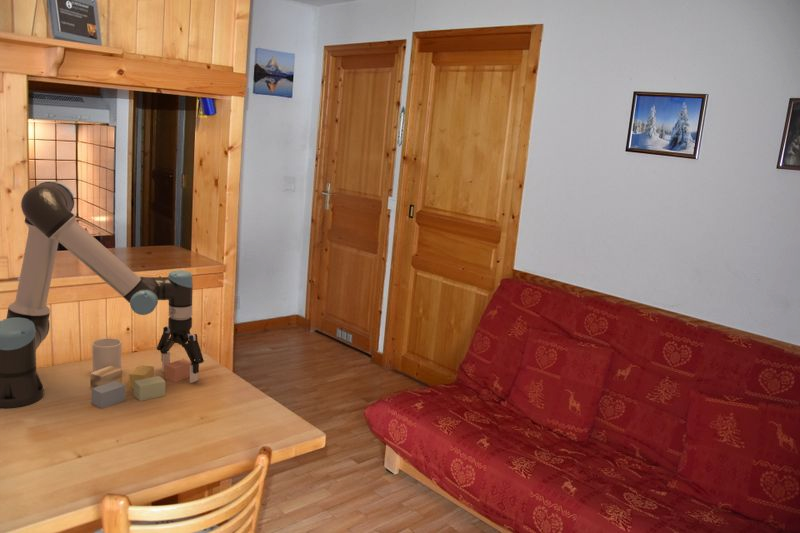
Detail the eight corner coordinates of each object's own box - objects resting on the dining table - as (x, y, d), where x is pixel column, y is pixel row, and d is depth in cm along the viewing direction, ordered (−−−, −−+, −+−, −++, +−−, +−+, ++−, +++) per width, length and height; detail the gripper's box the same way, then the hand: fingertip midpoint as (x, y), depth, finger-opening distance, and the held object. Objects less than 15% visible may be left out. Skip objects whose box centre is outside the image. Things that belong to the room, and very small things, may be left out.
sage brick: (133, 395, 206) (133, 380, 205) (158, 390, 212) (159, 375, 211) (140, 401, 203) (140, 386, 202) (165, 395, 208) (165, 381, 207)
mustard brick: (129, 388, 211) (129, 374, 210) (138, 379, 219) (138, 365, 218) (144, 389, 211) (144, 375, 210) (153, 380, 219) (153, 366, 218)
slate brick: (91, 403, 198) (91, 388, 197) (115, 395, 205) (115, 381, 204) (101, 408, 196) (101, 393, 195) (125, 400, 202) (125, 385, 201)
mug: (119, 378, 218) (119, 346, 215) (90, 379, 215) (90, 347, 213) (124, 365, 229) (124, 334, 226) (96, 365, 226) (96, 334, 224)
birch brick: (90, 387, 209) (90, 373, 208) (110, 379, 216) (110, 365, 215) (101, 391, 207) (101, 376, 206) (121, 383, 214) (121, 369, 213)
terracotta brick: (164, 378, 221) (164, 364, 220) (182, 372, 228) (183, 358, 227) (175, 382, 219) (175, 368, 218) (193, 375, 226) (193, 362, 224)
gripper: (146, 311, 222) (146, 369, 226) (197, 327, 209) (196, 389, 214) (164, 306, 228) (163, 363, 232) (215, 322, 216) (214, 382, 220)
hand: (179, 376), depth 223 cm, fingers open, 13 cm apart
